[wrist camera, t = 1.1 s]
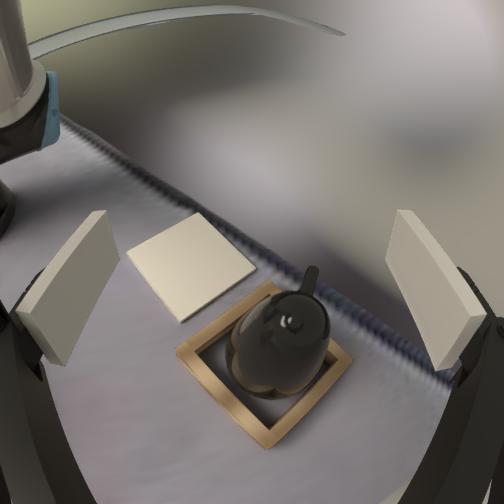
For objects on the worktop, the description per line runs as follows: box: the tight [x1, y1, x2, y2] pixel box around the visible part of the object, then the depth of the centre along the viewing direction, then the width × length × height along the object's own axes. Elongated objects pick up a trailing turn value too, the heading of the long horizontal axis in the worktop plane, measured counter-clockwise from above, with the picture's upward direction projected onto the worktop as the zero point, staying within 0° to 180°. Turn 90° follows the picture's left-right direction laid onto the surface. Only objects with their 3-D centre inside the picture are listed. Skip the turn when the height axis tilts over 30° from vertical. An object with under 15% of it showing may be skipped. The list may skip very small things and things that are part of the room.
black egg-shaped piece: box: [225, 266, 331, 400], centre depth 29 cm, size 10×10×15 cm
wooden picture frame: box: [175, 279, 354, 449], centre depth 34 cm, size 15×15×2 cm
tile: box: [126, 212, 256, 323], centre depth 42 cm, size 13×13×1 cm
